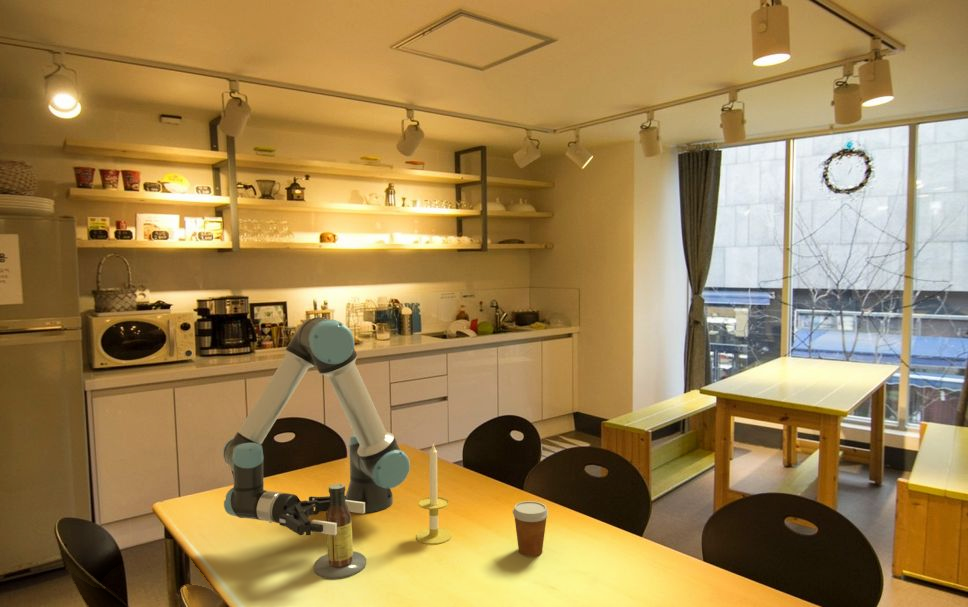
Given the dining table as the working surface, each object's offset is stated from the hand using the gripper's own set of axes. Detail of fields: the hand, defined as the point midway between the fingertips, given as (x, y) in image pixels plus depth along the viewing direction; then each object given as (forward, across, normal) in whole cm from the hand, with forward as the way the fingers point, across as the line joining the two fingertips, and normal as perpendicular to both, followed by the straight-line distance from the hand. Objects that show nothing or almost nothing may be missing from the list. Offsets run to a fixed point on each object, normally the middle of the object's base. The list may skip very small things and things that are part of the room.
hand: (350, 518), depth 152 cm
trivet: (-3, 0, -13) cm, 13 cm away
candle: (+13, -23, -13) cm, 29 cm away
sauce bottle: (-3, 0, -12) cm, 13 cm away
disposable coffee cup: (+41, -23, -13) cm, 49 cm away
